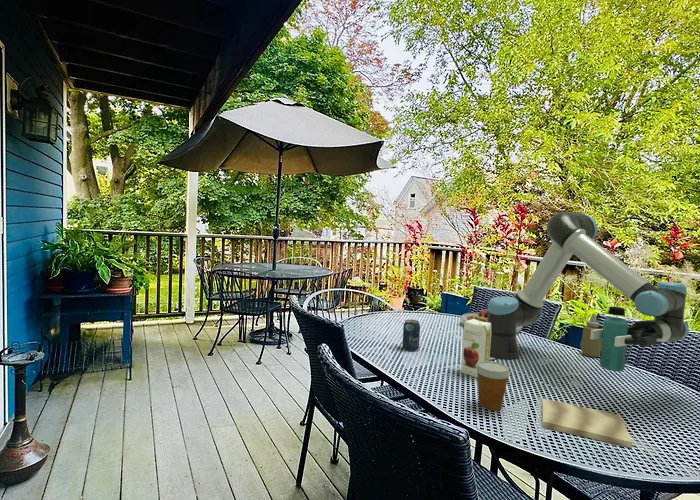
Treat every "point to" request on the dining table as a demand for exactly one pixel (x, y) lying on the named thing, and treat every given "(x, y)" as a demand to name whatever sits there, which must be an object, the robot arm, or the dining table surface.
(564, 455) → the dining table surface
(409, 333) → the soda can
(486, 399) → the disposable coffee cup
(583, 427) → the birch board
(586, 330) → the squeeze bottle
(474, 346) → the juice carton
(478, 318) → the bowl
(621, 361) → the beverage bottle
